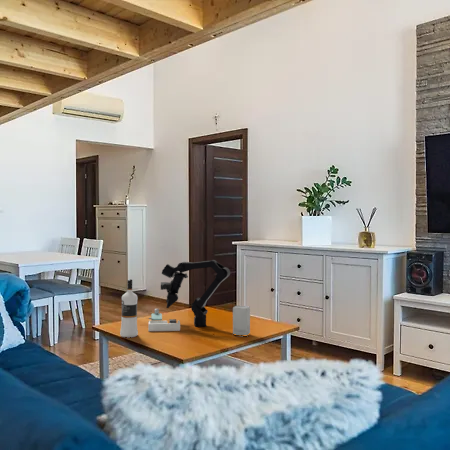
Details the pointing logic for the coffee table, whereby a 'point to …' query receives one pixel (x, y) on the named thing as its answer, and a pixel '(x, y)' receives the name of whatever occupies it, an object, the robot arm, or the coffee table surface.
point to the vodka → (129, 313)
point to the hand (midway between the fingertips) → (167, 305)
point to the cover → (156, 315)
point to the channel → (163, 326)
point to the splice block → (172, 320)
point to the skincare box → (241, 320)
